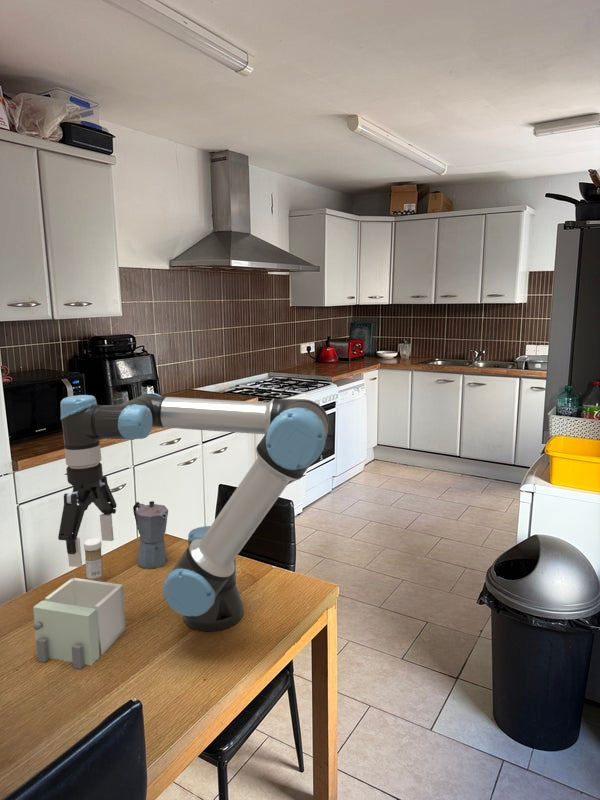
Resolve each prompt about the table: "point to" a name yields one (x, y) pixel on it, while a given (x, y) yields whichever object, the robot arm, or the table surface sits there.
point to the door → (67, 630)
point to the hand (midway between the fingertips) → (92, 552)
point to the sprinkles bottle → (93, 559)
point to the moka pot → (151, 534)
